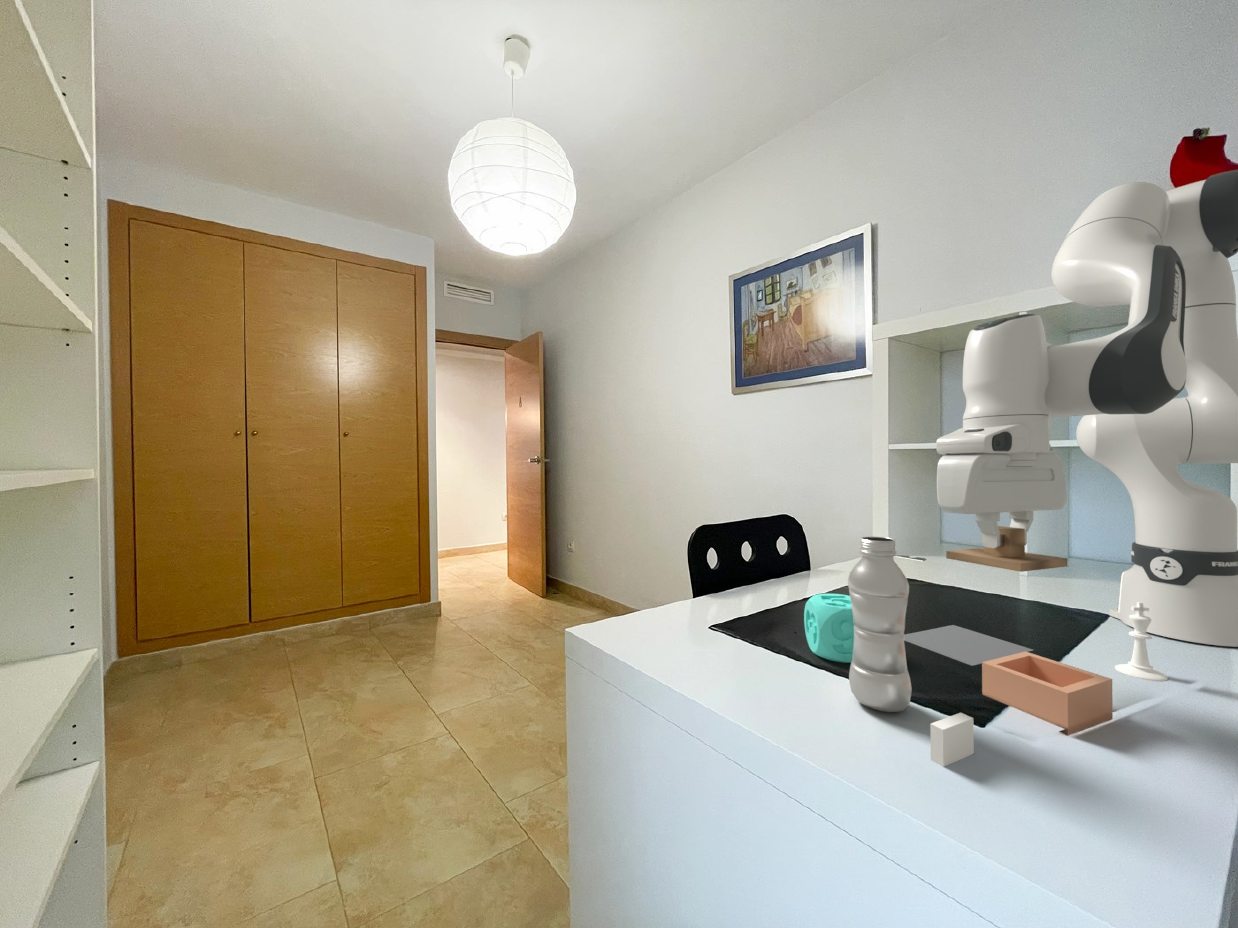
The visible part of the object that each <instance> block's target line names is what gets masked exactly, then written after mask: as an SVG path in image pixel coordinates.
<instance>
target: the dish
mask: <svg viewBox="0 0 1238 928" xmlns="http://www.w3.org/2000/svg"><path fill="white" fill-rule="evenodd" d="M981 678H982V679H981V687H982V688H981V692H982V693H981V694H982V695H983V696H985V697H987V698H990V699H992V700H995V701H998V702H999V703H1002V704H1004V705H1007V706H1009V707H1011V708H1013V709H1016V710H1018V711H1021V712H1023V713H1025V714H1028V715H1030V716H1033V717H1035V718H1038V719H1040V720H1042V721H1044V722H1047V723H1048V724H1049V723H1050V724H1052V725H1054V726H1057V727H1059V728H1061V730H1059V731H1058V732H1059V733H1060V734H1063V735H1064V736H1065V735H1066V736H1070V735H1073V734H1076V733H1078V732H1081V731H1083V730H1086V729H1089V728H1092V727H1095V726H1097V725H1100V724H1102V723H1105V722H1108V721H1111V720H1112V719H1113V712H1114V711H1113V678H1110V677H1107V676H1104V675H1101V674H1098V673H1095V672H1091V671H1088V670H1084V669H1082V668H1079V667H1075V666H1073V665H1070V664H1066V663H1063V662H1061V661H1056V660H1053V659H1050V658H1047V657H1043V656H1040V655H1038V654H1034V653H1031V652H1021V653H1017V654H1013V655H1009V656H1005V657H1001V658H997V659H993V660H989V661H985V662H982V664H981Z"/></svg>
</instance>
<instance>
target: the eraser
mask: <svg viewBox="0 0 1238 928" xmlns="http://www.w3.org/2000/svg"><path fill="white" fill-rule="evenodd" d="M974 737H975V736H974V717H972V716H969V715H967V714H965V713H963V712H959V713H956V714H953V715H950V716H947V717H945V718H941V719H939V720H937V721H933V722H931V723H930V761H932V762H934V763H936V764H937V765H939V766H941V767H943V768H944V767H946V766H949V765H950V764H951V765H952V764H953V763H955V762H958V761H960V760H963V759H964V758H967V757H969V756H971V755H974V752H975V748H974V745H975V744H974Z"/></svg>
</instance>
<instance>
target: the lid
mask: <svg viewBox="0 0 1238 928" xmlns="http://www.w3.org/2000/svg"><path fill="white" fill-rule="evenodd" d="M998 527H999V531H1000V534H1005V540H1004V543H1005V545H1004V547H1002V548H988V547H985V546H983V547H977V548H967V549H966V548H965V549H956V550H955V549H954V550H945V551H946V554H945V556H946V559H949V560H953V561H958V562H966V563H970V564H976V565H982V566H987V567H992V568H997V569H1004V570H1009V571H1015V572H1020V573H1023V572H1029V571H1030V572H1032V571H1040V570H1049V569H1057V568H1065V567H1068V558H1066V557H1061V556H1055V555H1054V556H1053V555H1052V556H1051V555H1048V554H1047V555H1045V554H1039V553H1034V552H1033V553H1031V552H1026V548H1025V547H1026V545H1025V529H1023V528H1013V527H1010V526H1001V525H998Z"/></svg>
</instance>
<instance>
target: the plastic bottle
mask: <svg viewBox="0 0 1238 928" xmlns="http://www.w3.org/2000/svg"><path fill="white" fill-rule="evenodd" d="M859 553H860V554H861V558H860V559H859V561H858V562H857V563H855V565H854V567H853V568H852V569H851V571H850V572H849V574H848V577H847V578H848V579H847V586H848V592H849V596H850V599H851V605H852V612H853V623H854V642H853V656H852V662H851V663H850V667H849V674H848V680H849V685H850V690H851V692H852V694H853V696H854V697H855V699H856V700H857V701H858V702H859V703H860V704H862V705H863V706H865V707H867V708H870V709H873V710H875V711H880V712H885V713H886V712H887V713H899V712H902V711H904V710H905V709H906V708H907V706H908V705H910V703H911V697H912V692H913V691H912V690H913V689H912V683H911V677H910V674H909V670H908V665H907V656H906V646H905V641H904V636H905V630H906V616H907V615H906V613H907V607H908V602H909V600H908V599H909V593H910V585H909V582H908V578H907V576H906V575H905V573H904V572H903V570H902V569H901V567H899V564H897V562H895V559H894V557H896V556H897V551H896V539H894V538H891V537H885V536H884V537H883V536H862V537H860V548H859Z"/></svg>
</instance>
